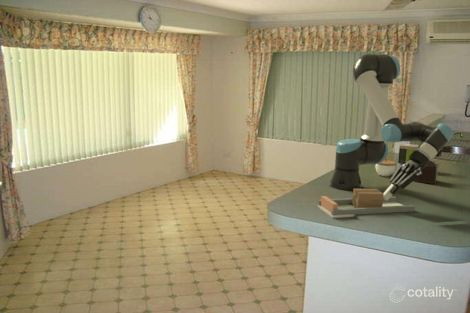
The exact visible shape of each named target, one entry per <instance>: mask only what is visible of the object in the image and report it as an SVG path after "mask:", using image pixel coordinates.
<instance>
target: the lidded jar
mask: <svg viewBox="0 0 470 313" xmlns="http://www.w3.org/2000/svg"><path fill="white" fill-rule="evenodd" d="M396 164H397V163H396V161H392V160H388V159H387V158H386V159H385V160H384V161H383V162H382V163H378V164H374V165H375V166H374V168H375V171H376V173H377V175H378V176H380V175H381V177H390V176H392V175H393V174H394V173H395V171H396Z"/></svg>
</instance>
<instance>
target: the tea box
mask: <svg viewBox="0 0 470 313" xmlns="http://www.w3.org/2000/svg"><path fill="white" fill-rule="evenodd" d="M419 145H420V144H410V143H409V144H408V143H404V144H400V145H399V149H398V159H397V166H398V165H399V164H400V163H401V164H405V163H406V162H407V161H408V160H409V156H410V155H411V154H412V153H413V151H416V148H417V147H418V146H419Z"/></svg>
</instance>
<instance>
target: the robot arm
mask: <svg viewBox="0 0 470 313" xmlns="http://www.w3.org/2000/svg"><path fill="white" fill-rule="evenodd" d="M400 73H401V63H400V61H399V60H398V58H397V57H396V56H394V55H390V54H376V53H374V54H373V53H366V54H365V53H364V54H363V55H361V56H359V57H358V58H357V59H356V60H355V61H354V64H353V66H352V75H353V78H354V81H355V83H356V85H357V86H360V87H361V90H362V91H363V93H364V95H365V96H366V98H367V100H368V102H367V108H366V115H365V116H366V118H365V125H364V132H363V134H362V135H361V136H360V138H359V139H358V138H346V139H341V140H339V141H338V142H336V148H335V160H334V161H335V164H334V171H333V173H332V175H331V178H330V183H329V186H330V187H333V188H335V189H338V190H345V191H353V190H354V189H362V179H361V176H360V166H363V165H364V166H365V165H376V164H378V163H382V162H383V161H384V160H385V159H387V158H388V155H389V147H388V145H387V143H397V142H399V143H400V142H420V143H419V144H418V145H419V146H418V147H417V148H416V151H413V153H412V154H411V155H410V156H409V160H408V161H407V162H406V163H405V164H401V163H400V164H399V165H398V164H397V168H396V169H395V170H394V172H393V173H392V175H391V178H390V179H389V180H388V182H389V183H390V185H389V186H388V187H387V188H385V189H386V190H384V192H382V193H383V198H384V199H385V200H386V201H387V200H388V199H389V198H390V197H391V196H394V194H395V193H396V192H397V191H398V190H400V189H401V190H404V189H405V188H407V187H408V186H409V185H410V184H412V183H413V182H414V180H415V179H416V178H417V177H419V176H421V175H422V172H421V169H422V168H425V167H426V166H427V165H428V164H429V162H430V161H432V160H433V159H434V158H435V157H437V156H436V154H437V153H438V152H439V151H440V150H441V149H442V148H443V149H444V147H445V146H446V145H447V144H448V143H449V142H450V140H451V139H452V138H453V137H454V135H455V133H454V130H453V128H452V127H451V126H449V125H447V124H445V123H443V122H439V123H437V124H436V125H435V127H434V126H430V125H428V124H424V123H423V122H418V121H413V120H412V121H410V122H407V123H403V122H402V120H401V119H400V117H399V115H398V113H397V111H396V110H395V108H394V107H393V104H392V103H391V101H390V99H389V98H388V95H389V90H390V89H389V88H390V87H391V86H392V85H393V84H394V80H395V79H397V78H398V76H400ZM386 142H387V143H386Z"/></svg>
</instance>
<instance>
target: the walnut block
mask: <svg viewBox="0 0 470 313" xmlns="http://www.w3.org/2000/svg"><path fill="white" fill-rule="evenodd" d="M352 191H353V192H352V198H353V202H352V205H353V206H354V207H355V208H366V207H382V205H383V193H384V192H382V191H381V190H379V189H378V188H360V189H354V190H352Z"/></svg>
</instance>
